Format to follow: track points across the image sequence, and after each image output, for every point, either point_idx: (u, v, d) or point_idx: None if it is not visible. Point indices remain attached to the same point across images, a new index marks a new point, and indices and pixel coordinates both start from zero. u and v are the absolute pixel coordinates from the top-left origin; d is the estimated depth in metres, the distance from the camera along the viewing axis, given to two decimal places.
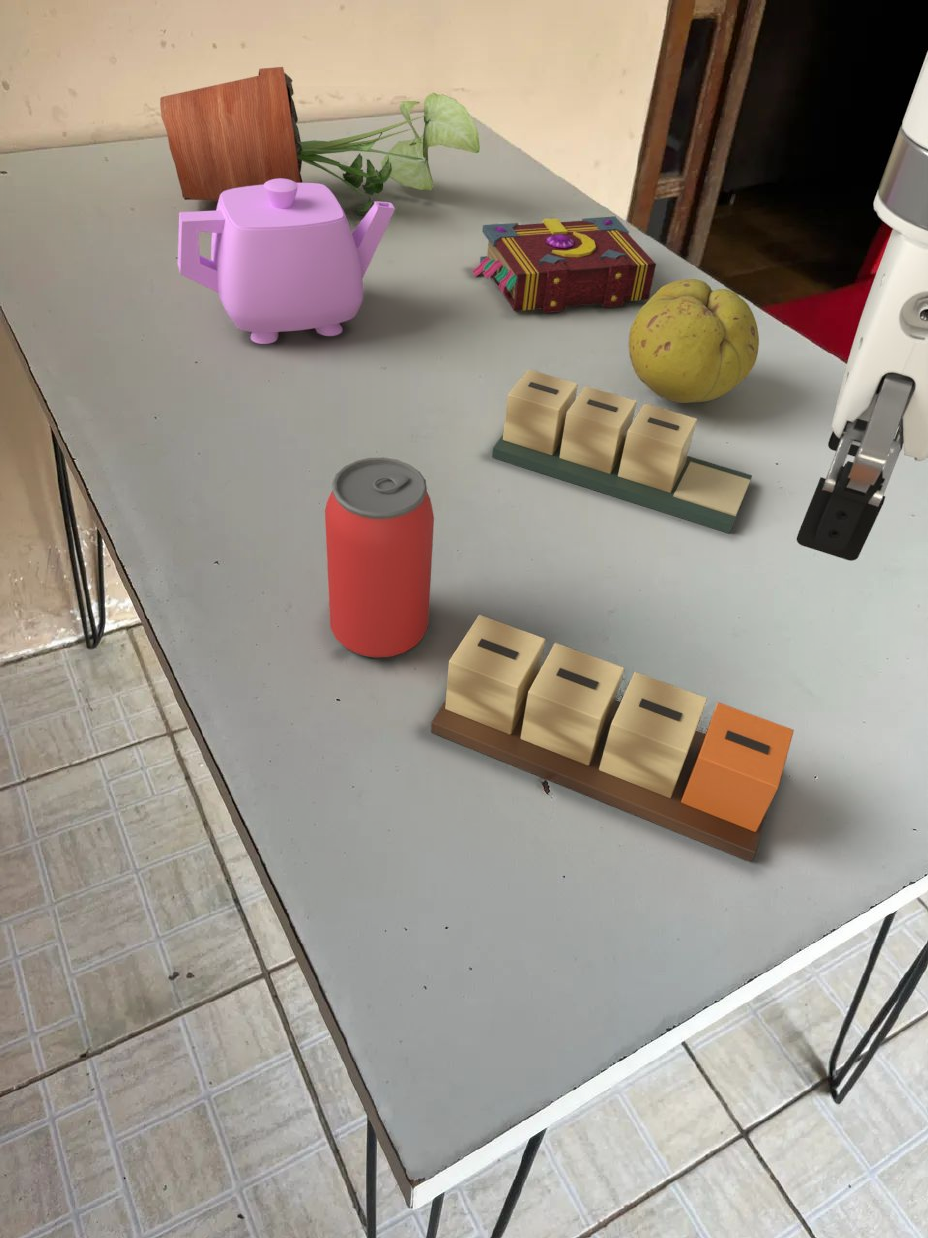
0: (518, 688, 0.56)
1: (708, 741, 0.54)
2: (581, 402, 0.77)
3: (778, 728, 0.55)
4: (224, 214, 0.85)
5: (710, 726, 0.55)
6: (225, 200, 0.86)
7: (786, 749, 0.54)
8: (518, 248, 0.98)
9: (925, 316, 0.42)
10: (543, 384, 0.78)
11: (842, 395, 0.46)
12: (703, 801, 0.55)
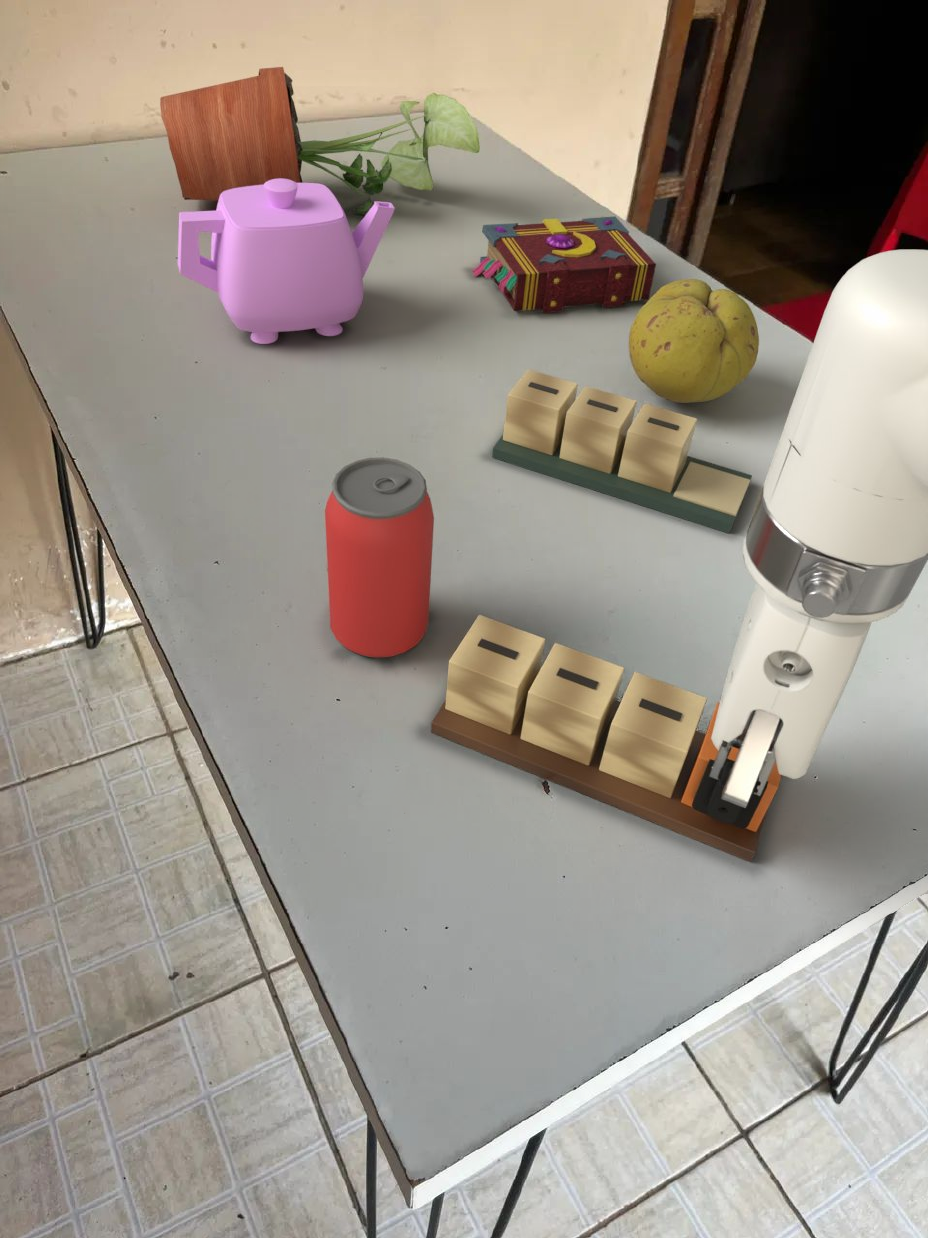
0: (518, 688, 0.56)
1: (708, 741, 0.54)
2: (581, 402, 0.77)
3: None
4: (224, 214, 0.85)
5: (710, 726, 0.55)
6: (225, 200, 0.86)
7: None
8: (518, 248, 0.98)
9: (788, 666, 0.44)
10: (543, 384, 0.78)
11: (718, 717, 0.47)
12: None
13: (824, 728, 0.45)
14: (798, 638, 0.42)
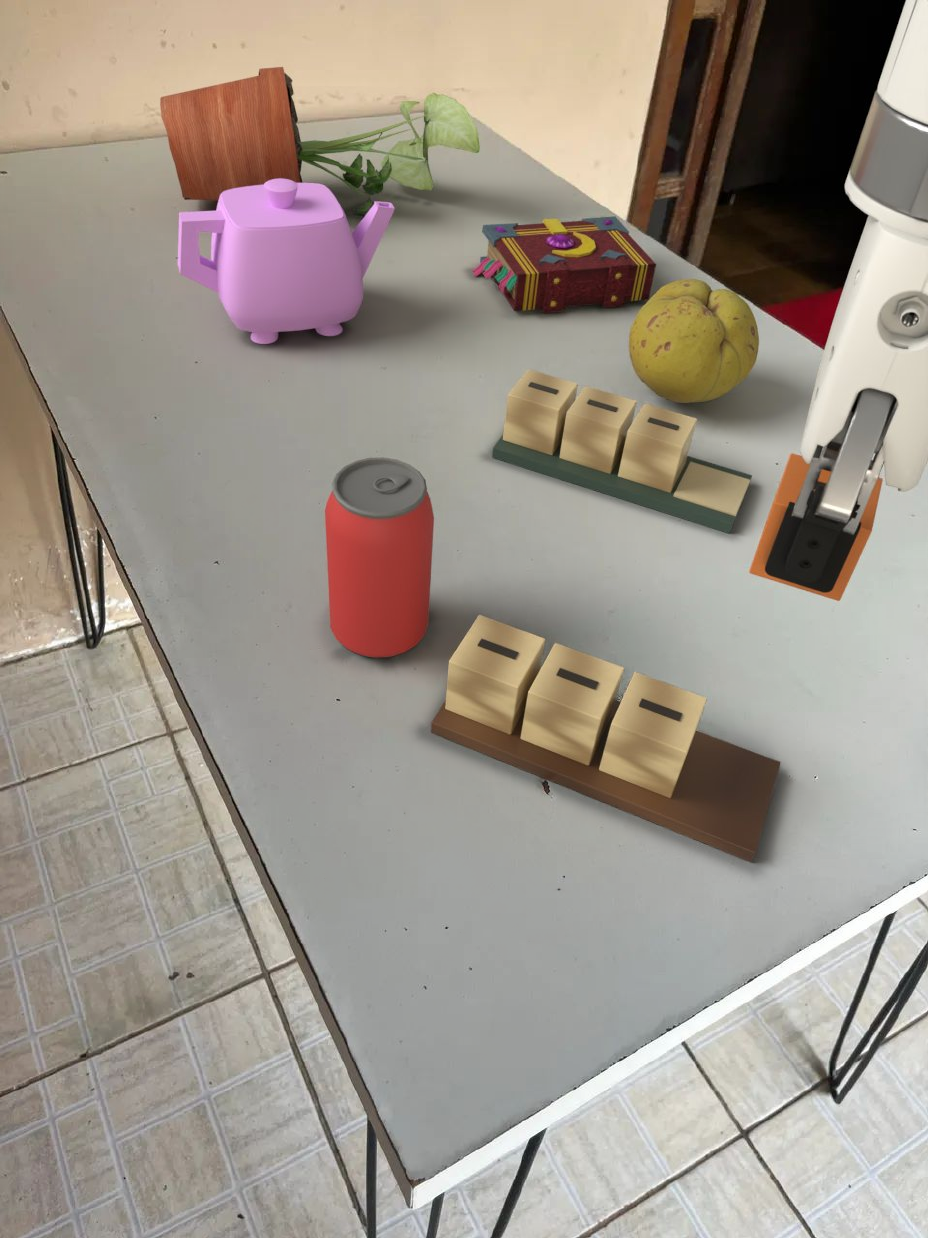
0: (518, 688, 0.56)
1: (784, 488, 0.45)
2: (581, 402, 0.77)
3: None
4: (224, 214, 0.85)
5: (784, 474, 0.46)
6: (225, 200, 0.86)
7: (876, 495, 0.45)
8: (518, 248, 0.98)
9: (908, 321, 0.35)
10: (543, 384, 0.78)
11: (811, 415, 0.39)
12: None
13: None
14: (925, 270, 0.34)
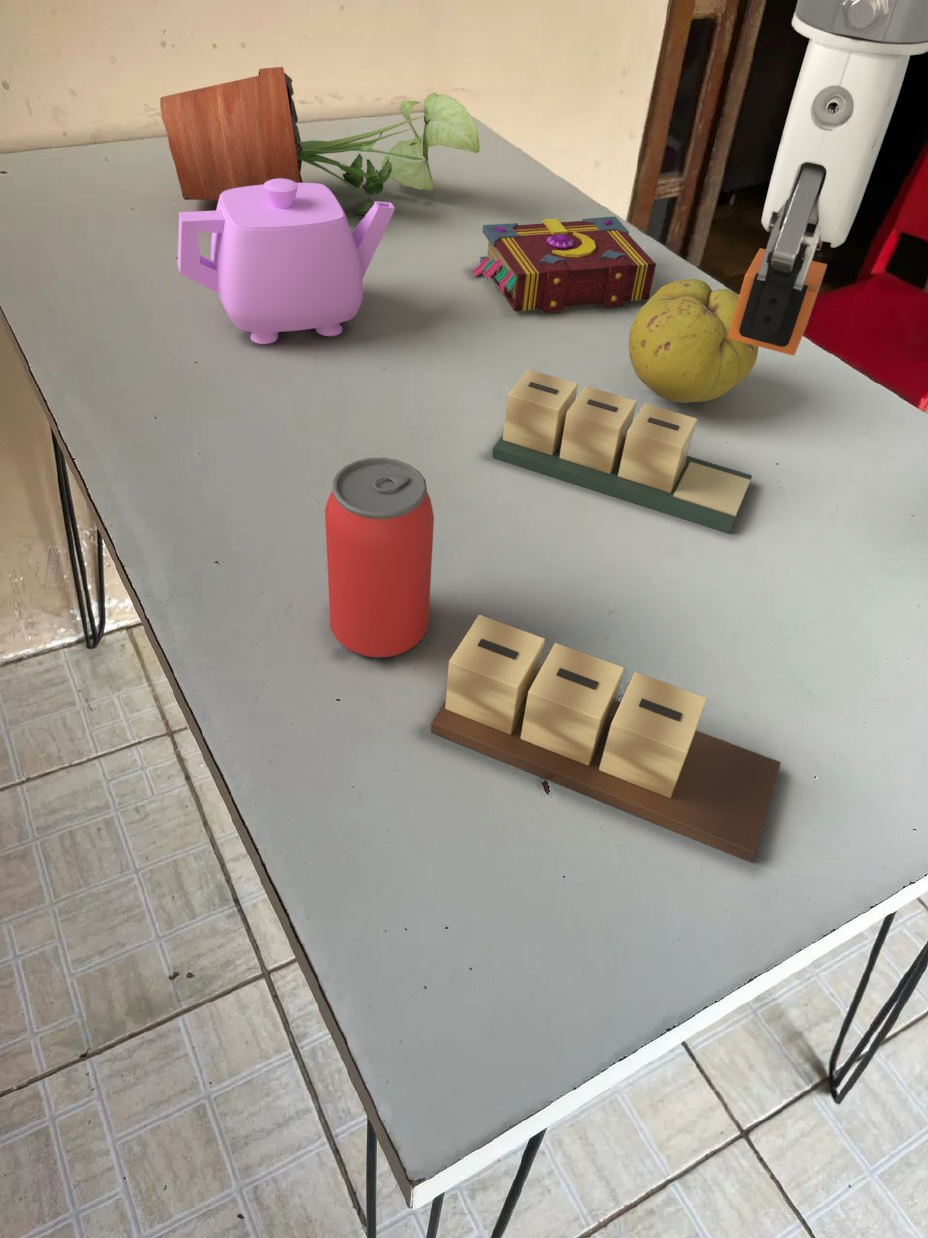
0: (518, 688, 0.56)
1: (753, 267, 0.61)
2: (581, 402, 0.77)
3: (813, 262, 0.62)
4: (224, 214, 0.85)
5: (754, 259, 0.62)
6: (225, 200, 0.86)
7: (821, 273, 0.61)
8: (518, 248, 0.98)
9: (832, 110, 0.51)
10: (543, 384, 0.78)
11: (768, 189, 0.55)
12: None
13: (861, 173, 0.52)
14: (842, 69, 0.50)
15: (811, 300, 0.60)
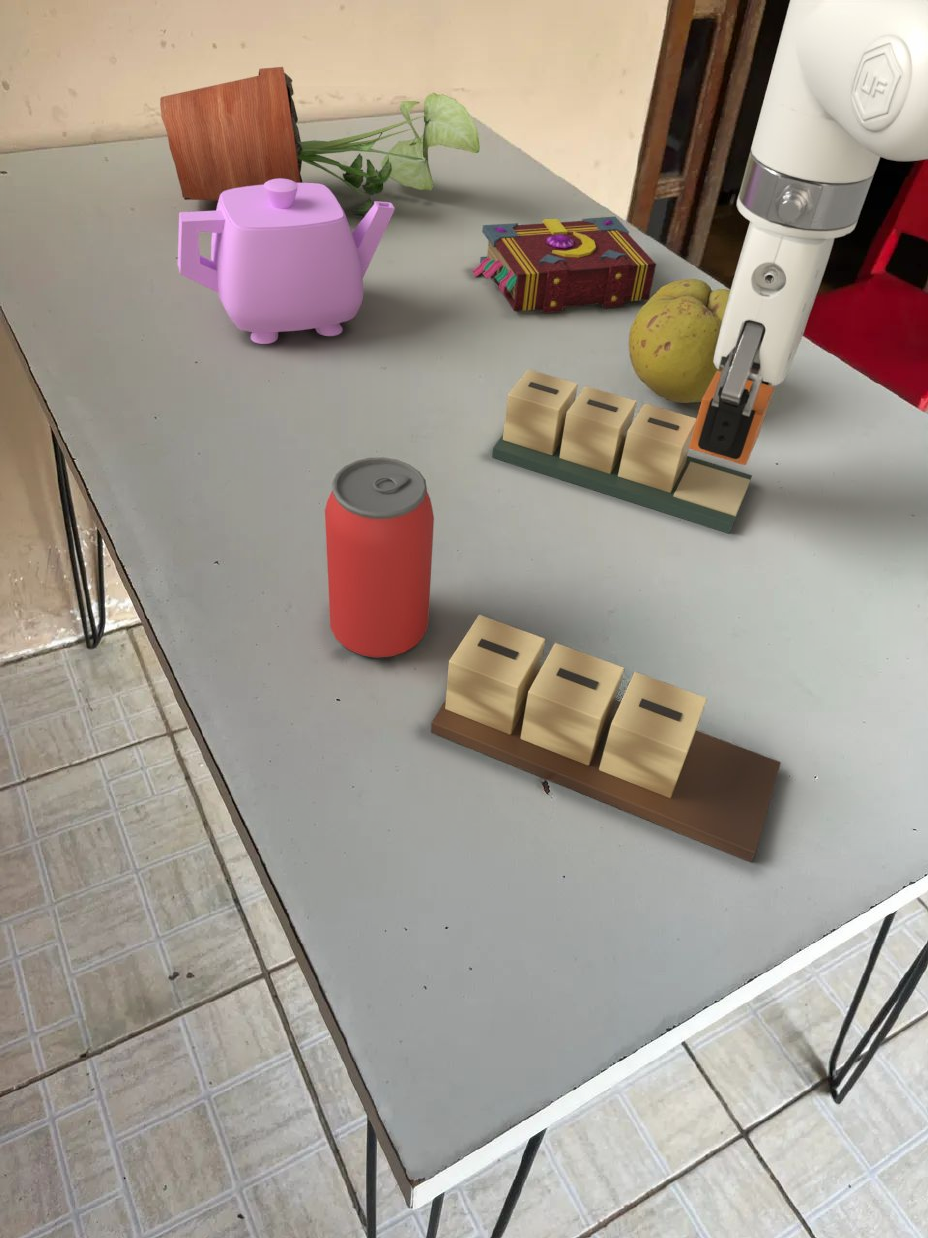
0: (518, 688, 0.56)
1: (709, 390, 0.71)
2: (581, 402, 0.77)
3: (762, 385, 0.72)
4: (224, 214, 0.85)
5: (711, 383, 0.72)
6: (225, 200, 0.86)
7: (768, 396, 0.71)
8: (518, 248, 0.98)
9: (769, 280, 0.61)
10: (543, 384, 0.78)
11: (718, 338, 0.65)
12: None
13: (794, 330, 0.62)
14: (775, 250, 0.60)
15: (758, 422, 0.70)
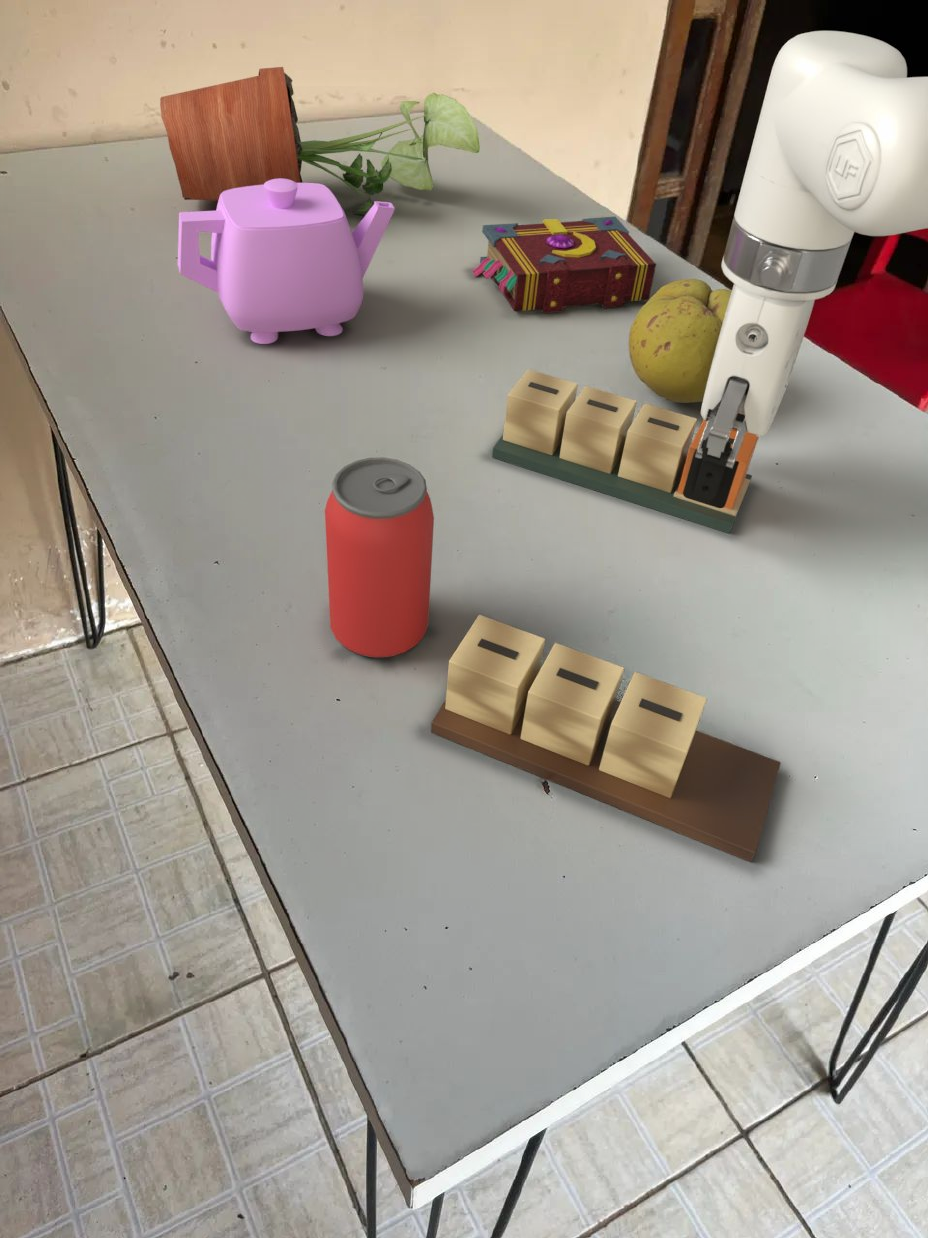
0: (518, 688, 0.56)
1: (697, 438, 0.74)
2: (581, 402, 0.77)
3: None
4: (224, 214, 0.85)
5: (698, 430, 0.75)
6: (225, 200, 0.86)
7: (753, 443, 0.74)
8: (518, 248, 0.98)
9: (752, 338, 0.64)
10: (543, 384, 0.78)
11: (705, 391, 0.67)
12: None
13: (777, 386, 0.65)
14: (758, 311, 0.62)
15: (744, 469, 0.73)
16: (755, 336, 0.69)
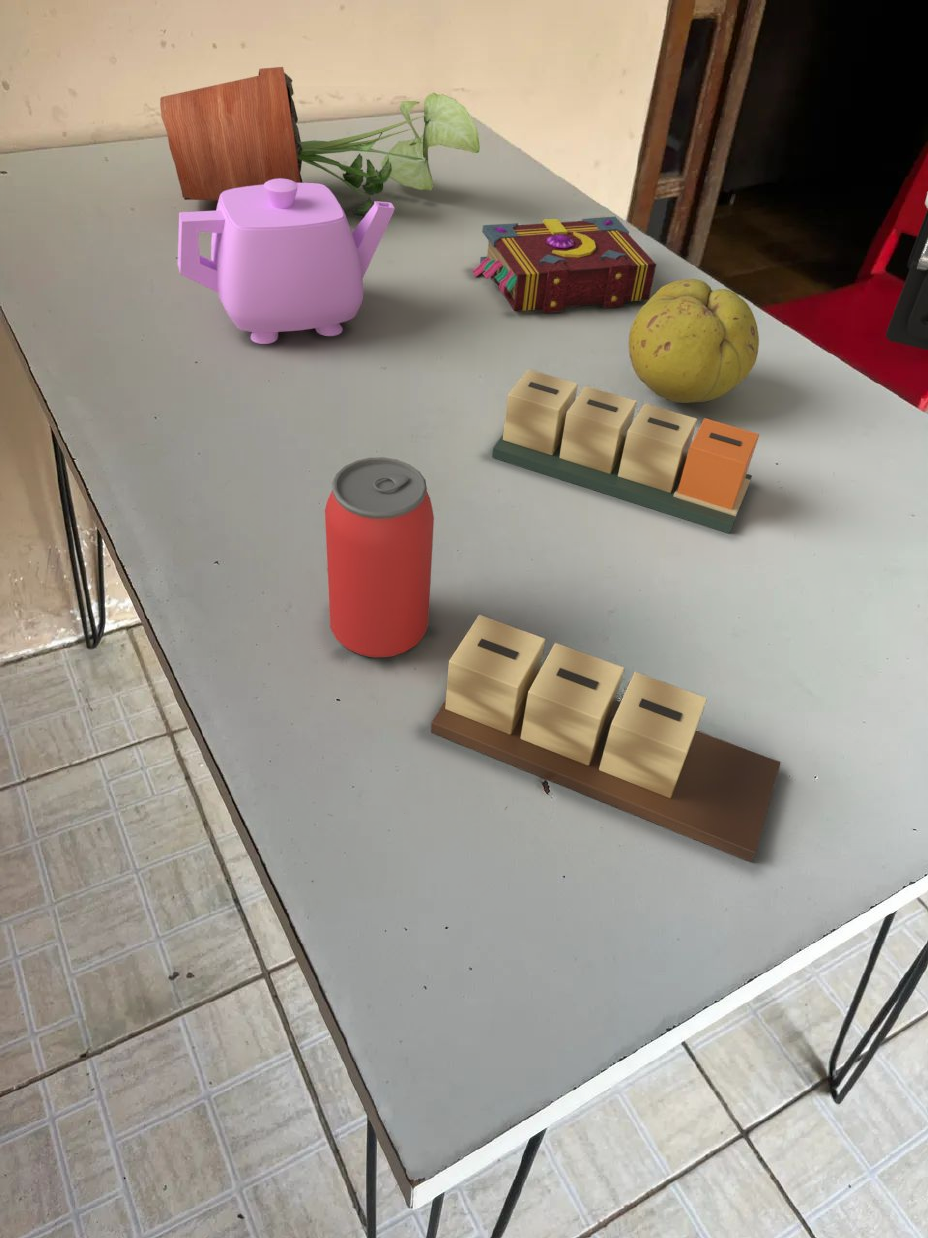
0: (518, 688, 0.56)
1: (697, 438, 0.74)
2: (581, 402, 0.77)
3: (748, 432, 0.75)
4: (224, 214, 0.85)
5: (698, 430, 0.75)
6: (225, 200, 0.86)
7: (753, 443, 0.74)
8: (518, 248, 0.98)
9: None
10: (543, 384, 0.78)
11: None
12: (694, 487, 0.76)
13: None
14: None
15: (744, 469, 0.73)
16: None
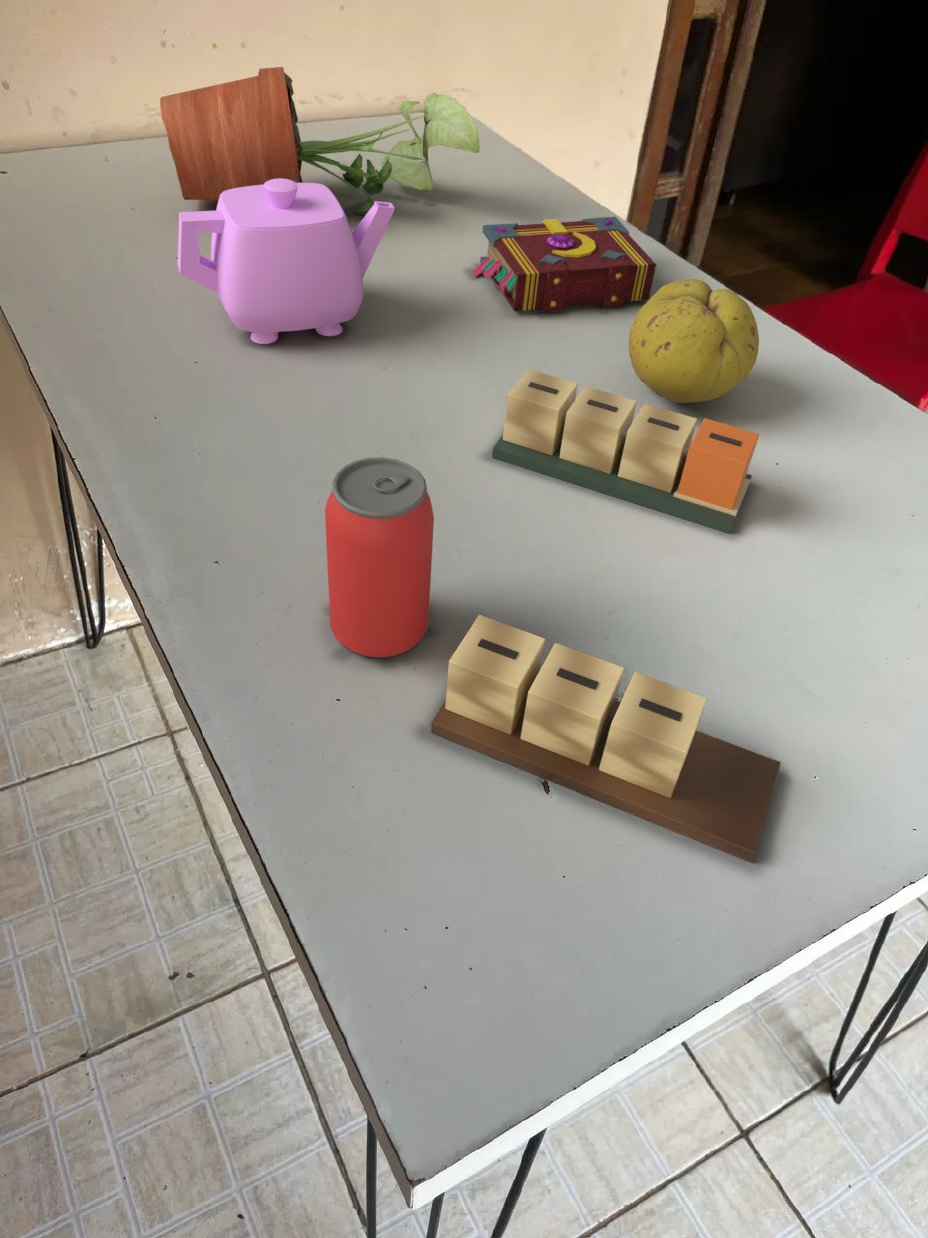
0: (518, 688, 0.56)
1: (697, 438, 0.74)
2: (581, 402, 0.77)
3: (748, 432, 0.75)
4: (224, 214, 0.85)
5: (698, 430, 0.75)
6: (225, 200, 0.86)
7: (753, 443, 0.74)
8: (518, 248, 0.98)
9: None
10: (543, 384, 0.78)
11: None
12: (694, 487, 0.76)
13: None
14: None
15: (744, 469, 0.73)
16: None
